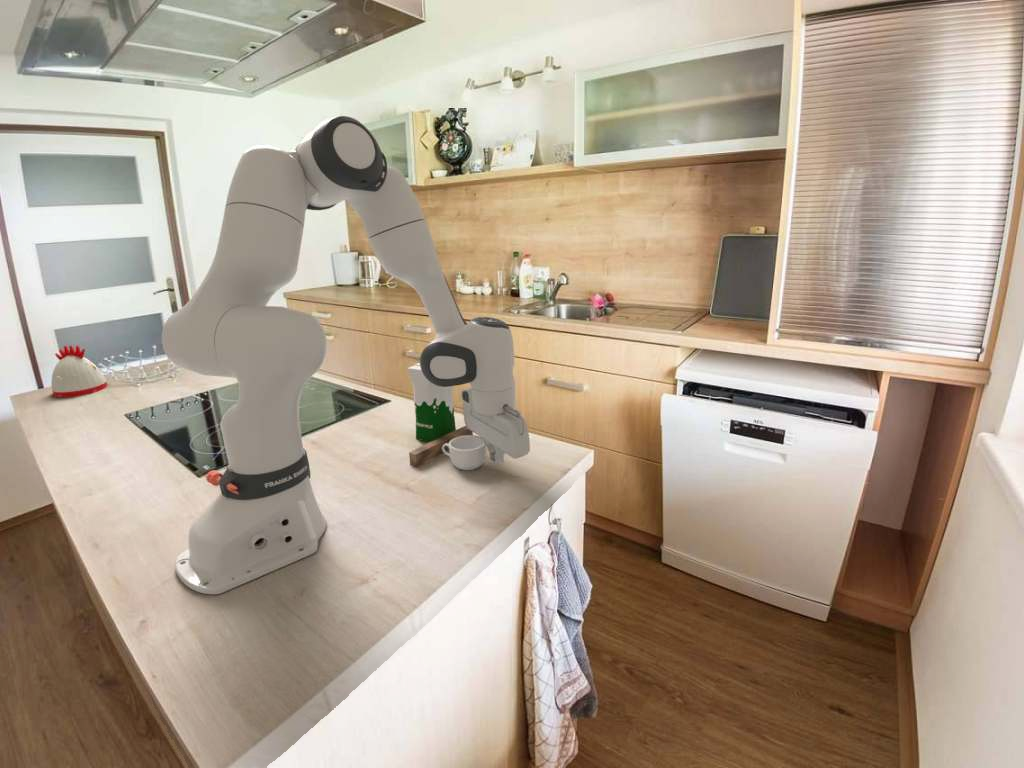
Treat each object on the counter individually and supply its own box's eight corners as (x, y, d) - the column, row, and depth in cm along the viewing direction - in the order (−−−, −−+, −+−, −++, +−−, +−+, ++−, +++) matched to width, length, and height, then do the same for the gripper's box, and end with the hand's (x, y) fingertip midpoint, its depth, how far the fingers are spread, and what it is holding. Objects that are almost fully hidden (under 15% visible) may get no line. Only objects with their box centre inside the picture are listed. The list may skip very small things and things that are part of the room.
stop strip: (416, 467, 110) (415, 454, 109) (410, 464, 111) (408, 452, 110) (473, 438, 123) (472, 427, 122) (466, 436, 124) (466, 425, 123)
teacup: (492, 460, 112) (491, 437, 110) (478, 476, 105) (476, 452, 103) (451, 454, 115) (449, 432, 114) (435, 469, 108) (432, 446, 107)
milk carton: (461, 432, 127) (456, 353, 121) (440, 446, 119) (433, 363, 113) (432, 426, 131) (426, 350, 125) (409, 440, 123) (402, 359, 117)
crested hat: (94, 394, 163) (80, 349, 159) (43, 399, 160) (28, 352, 156) (115, 381, 176) (103, 339, 171) (69, 385, 173) (55, 342, 169)
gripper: (537, 409, 96) (538, 476, 100) (482, 383, 112) (485, 441, 117) (508, 417, 93) (511, 485, 97) (456, 389, 109) (460, 448, 113)
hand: (496, 461), depth 107 cm, fingers closed
